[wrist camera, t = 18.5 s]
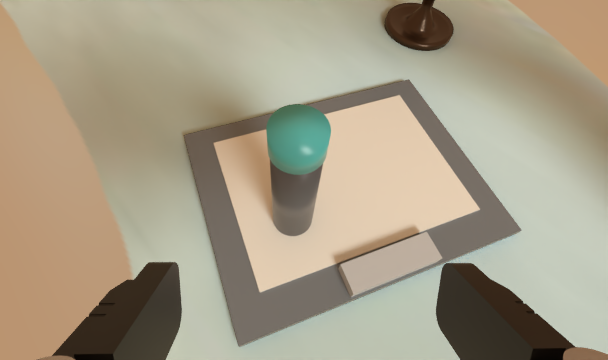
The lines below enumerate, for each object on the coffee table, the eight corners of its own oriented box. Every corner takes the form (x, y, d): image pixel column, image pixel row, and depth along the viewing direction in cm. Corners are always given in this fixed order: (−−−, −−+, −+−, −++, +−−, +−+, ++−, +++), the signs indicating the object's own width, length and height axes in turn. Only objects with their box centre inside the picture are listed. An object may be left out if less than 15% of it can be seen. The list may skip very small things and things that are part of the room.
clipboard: (406, 84, 39) (412, 71, 38) (516, 233, 30) (530, 225, 29) (185, 140, 33) (180, 127, 32) (239, 347, 24) (236, 344, 23)
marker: (304, 194, 30) (316, 98, 20) (319, 229, 28) (341, 144, 18) (266, 206, 29) (258, 112, 19) (279, 243, 27) (278, 162, 17)
